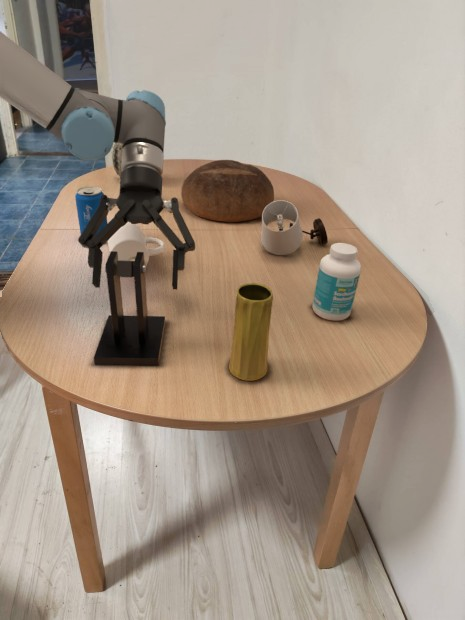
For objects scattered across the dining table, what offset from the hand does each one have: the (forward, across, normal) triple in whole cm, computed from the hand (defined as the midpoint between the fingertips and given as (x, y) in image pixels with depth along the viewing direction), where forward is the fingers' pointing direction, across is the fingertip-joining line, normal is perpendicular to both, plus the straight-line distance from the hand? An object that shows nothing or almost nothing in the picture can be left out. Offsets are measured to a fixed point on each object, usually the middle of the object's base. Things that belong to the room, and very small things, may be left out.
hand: (135, 286), depth 79 cm
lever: (0, 0, -5) cm, 5 cm away
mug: (-11, -3, +20) cm, 23 cm away
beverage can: (-19, -15, +29) cm, 38 cm away
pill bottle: (+2, +36, +8) cm, 37 cm away
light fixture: (-17, +33, +27) cm, 46 cm away
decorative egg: (-52, -13, +62) cm, 82 cm away
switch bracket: (+10, 0, 0) cm, 10 cm away
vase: (+14, +19, -4) cm, 24 cm away
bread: (-37, +18, +47) cm, 62 cm away
